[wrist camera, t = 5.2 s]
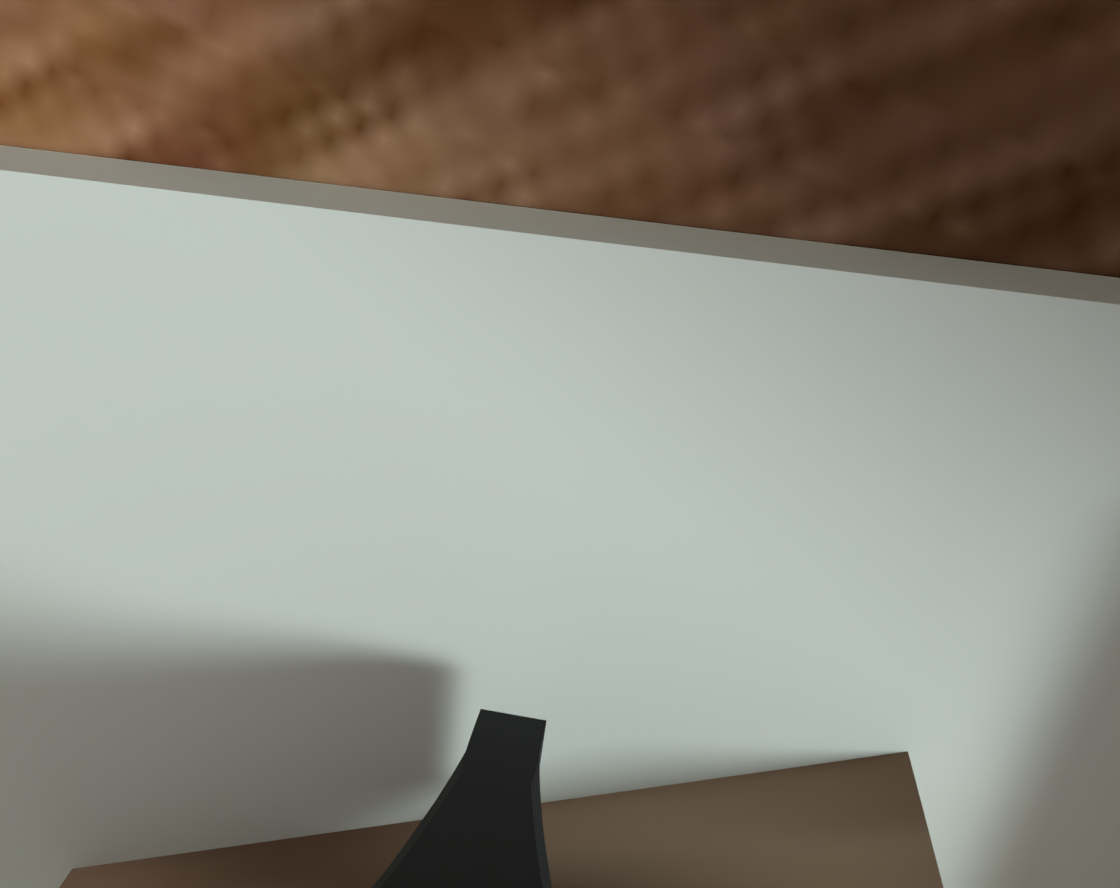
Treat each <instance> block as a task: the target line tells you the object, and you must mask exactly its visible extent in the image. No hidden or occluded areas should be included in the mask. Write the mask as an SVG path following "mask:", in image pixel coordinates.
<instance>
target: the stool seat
mask: <svg viewBox="0 0 1120 888" xmlns="http://www.w3.org/2000/svg"><path fill="white" fill-rule="evenodd" d="M480 709H485V710H490V711H496V712H502V713H507V714H513V715H519V716H524V717H530V718H536V719H541V720H547V721H546V727H545V734H544V741H543V748H542V754H541V761H540V796H541V803H544V802H552V801H559V800H566V799H573V798H580V797H587V796H594V795H601V794H608V793H616V792H623V791H630V790H637V789H644V788H651V787H658V786H665V785H672V784H680V783H687V782H694V781H701V780H708V779H715V778H722V777H729V776H737V775H744V774H751V773H758V772H765V771H772V770H779V769H786V768H793V767H801V766H808V765H815V764H822V763H829V762H836V761H843V760H850V759H857V758H865V757H872V756H879V755H886V754H893V753H900V752H907V751H908V754H909V758H910V761H911V765H912V769H913V773H914V777H915V780H916V784H917V788H918V792H919V796H920V800H921V803H922V807H923V811H924V815H925V819H926V823H927V826H928V830H929V834H930V838H931V842H932V846H933V849H934V853H935V857H936V861H937V865H938V868H939V872H940V876H941V880H942V884H943V888H1120V278H1118V277H1109V276H1101V275H1092V274H1084V273H1075V272H1067V271H1058V270H1050V269H1042V268H1033V267H1025V266H1016V265H1008V264H999V263H991V262H983V261H974V260H966V259H957V258H949V257H940V256H932V255H924V254H915V253H907V252H898V251H890V250H881V249H873V248H864V247H856V246H848V245H839V244H831V243H822V242H814V241H805V240H797V239H789V238H780V237H772V236H763V235H755V234H746V233H738V232H729V231H721V230H713V229H704V228H696V227H687V226H679V225H670V224H662V223H654V222H645V221H637V220H628V219H620V218H611V217H603V216H594V215H586V214H578V213H569V212H561V211H552V210H544V209H535V208H527V207H519V206H510V205H502V204H493V203H485V202H476V201H468V200H459V199H451V198H443V197H434V196H426V195H417V194H409V193H400V192H392V191H384V190H375V189H367V188H358V187H350V186H341V185H333V184H324V183H316V182H308V181H299V180H291V179H282V178H274V177H265V176H257V175H249V174H240V173H232V172H223V171H215V170H206V169H198V168H189V167H181V166H173V165H164V164H156V163H147V162H139V161H130V160H122V159H114V158H105V157H97V156H88V155H80V154H71V153H63V152H54V151H46V150H38V149H29V148H21V147H12V146H4V145H0V888H59V887H60V886H61V884H62V883H63V881H64V880H65V878H66V877H67V876H68V874H69V873H70V871H71V870H72V869H75V868H82V867H89V866H96V865H103V864H110V863H118V862H125V861H132V860H139V859H146V858H153V857H160V856H167V855H174V854H182V853H189V852H196V851H203V850H210V849H217V848H224V847H231V846H238V845H246V844H253V843H260V842H267V841H274V840H281V839H288V838H295V837H303V836H310V835H317V834H324V833H331V832H338V831H345V830H352V829H359V828H367V827H374V826H381V825H388V824H395V823H402V822H409V821H416V820H422V819H423V818H424V817H425V815H426V814H427V812H428V811H429V810H430V808H431V807H432V805H433V804H434V802H435V801H436V799H437V798H438V796H439V794H440V793H441V791H442V790H443V788H444V787H445V785H446V783H447V782H448V780H449V779H450V777H451V776H452V774H453V772H454V771H455V769H456V767H457V766H458V764H459V762H460V760H461V759H462V757H463V755H464V753H465V752H466V749H467V746H468V743H469V740H470V737H471V734H472V731H473V728H474V726H475V723H476V720H477V717H478V715H479V712H480Z"/></svg>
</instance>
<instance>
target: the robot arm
mask: <svg viewBox="0 0 1120 888" xmlns="http://www.w3.org/2000/svg"><path fill="white" fill-rule="evenodd" d="M546 721H547V720H541V719H536V718H530V717H524V716H519V715H513V714H507V713H502V712H496V711H490V710H485V709H480V712H479V715H478V717H477V720H476V723H475V726H474V728H473V731H472V734H471V737H470V740H469V743H468V746H467V749H466V752H465V753H464V755H463V757H462V759H461V760H460V762H459V764H458V766H457V767H456V769H455V771H454V772H453V774H452V776H451V777H450V779H449V780H448V782H447V783H446V785H445V787H444V788H443V790H442V791H441V793H440V794H439V796H438V798H437V799H436V801H435V802H434V804H433V805H432V807H431V808H430V810H429V811H428V812H427V814H426V815H425V817H424V818H423V819H422V821H421V822H420V824H419V825H418V827H417V828H416V829H415V831H414V832H413V834H412V835H411V837H410V838H409V839H408V841H407V842H406V844H405V845H404V846H403V848H402V849H401V851H400V852H399V854H398V855H397V856H396V858H395V859H394V860H393V862H392V863H391V864H390V866H389V867H388V868H387V869H386V871H385V872H384V873H383V874H382V876H381V877H380V878H379V879H378V881H377V882H376V883H375V884H374V886H373V887H372V888H552V886H551V879H550V873H549V866H548V860H547V853H546V847H545V839H544V830H543V822H542V809H541V796H540V761H541V754H542V748H543V741H544V734H545V727H546Z"/></svg>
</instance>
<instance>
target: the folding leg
mask: <svg viewBox="0 0 1120 888" xmlns="http://www.w3.org/2000/svg"><path fill="white" fill-rule="evenodd" d="M541 809H542V822H543V830H544V839H545V847H546V853H547V860H548V866H549V873H550V879H551V886H552V888H943V884H942V880H941V876H940V872H939V868H938V865H937V861H936V857H935V853H934V849H933V846H932V842H931V838H930V834H929V830H928V826H927V823H926V819H925V815H924V811H923V807H922V803H921V800H920V796H919V792H918V788H917V784H916V780H915V777H914V773H913V769H912V765H911V761H910V758H909V754H908V751H907V752H900V753H893V754H886V755H879V756H872V757H865V758H857V759H850V760H843V761H836V762H829V763H822V764H815V765H808V766H801V767H793V768H786V769H779V770H772V771H765V772H758V773H751V774H744V775H737V776H729V777H722V778H715V779H708V780H701V781H694V782H687V783H680V784H672V785H665V786H658V787H651V788H644V789H637V790H630V791H623V792H616V793H608V794H601V795H594V796H587V797H580V798H573V799H566V800H559V801H552V802H544V803H541ZM421 821H422V820H416V821H409V822H402V823H395V824H388V825H381V826H374V827H367V828H359V829H352V830H345V831H338V832H331V833H324V834H317V835H310V836H303V837H295V838H288V839H281V840H274V841H267V842H260V843H253V844H246V845H238V846H231V847H224V848H217V849H210V850H203V851H196V852H189V853H182V854H174V855H167V856H160V857H153V858H146V859H139V860H132V861H125V862H118V863H110V864H103V865H96V866H89V867H82V868H75V869H72V870H71V871H70V873H69V874H68V876H67V877H66V878H65V880H64V881H63V883H62V884H61V886H60V887H59V888H372V887H373V886H374V884H375V883H376V882H377V881H378V879H379V878H380V877H381V876H382V874H383V873H384V872H385V871H386V869H387V868H388V867H389V866H390V864H391V863H392V862H393V860H394V859H395V858H396V856H397V855H398V854H399V852H400V851H401V849H402V848H403V846H404V845H405V844H406V842H407V841H408V839H409V838H410V837H411V835H412V834H413V832H414V831H415V829H416V828H417V827H418V825H419V824H420V822H421Z"/></svg>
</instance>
